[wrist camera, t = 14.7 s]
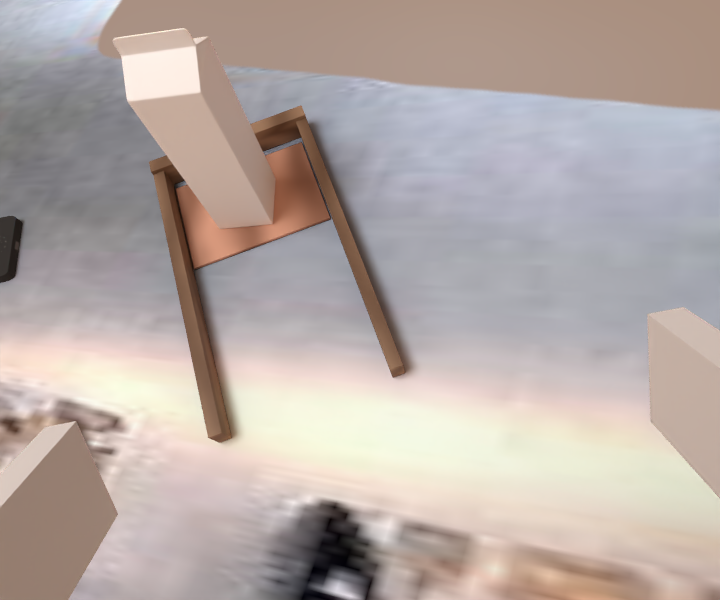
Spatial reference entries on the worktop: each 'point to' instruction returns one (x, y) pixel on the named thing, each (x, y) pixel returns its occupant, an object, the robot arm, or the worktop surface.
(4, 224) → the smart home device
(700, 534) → the worktop surface
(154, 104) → the milk
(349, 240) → the bay
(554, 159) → the worktop surface
